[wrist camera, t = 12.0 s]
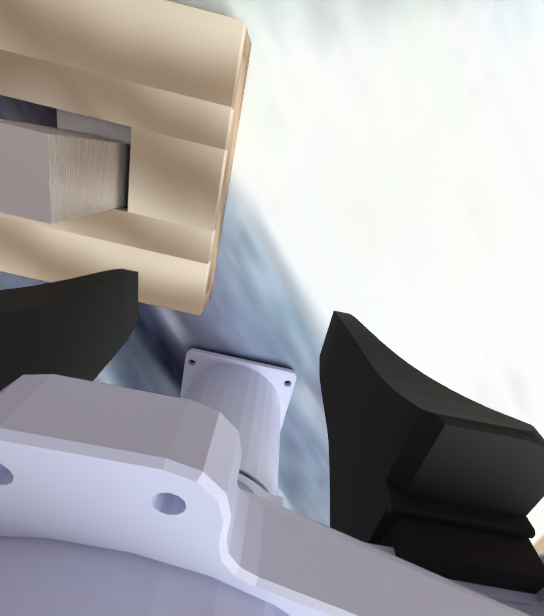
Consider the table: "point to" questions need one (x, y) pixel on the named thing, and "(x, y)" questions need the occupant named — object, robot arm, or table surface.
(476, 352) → the table surface
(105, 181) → the keyhole key
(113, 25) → the keyhole plate
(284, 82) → the table surface
